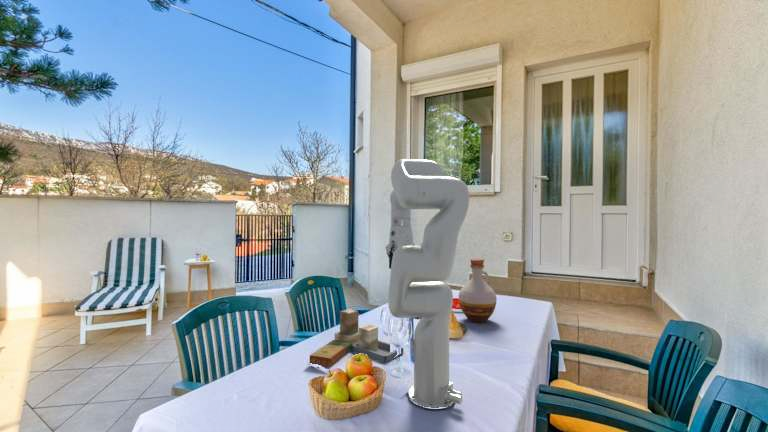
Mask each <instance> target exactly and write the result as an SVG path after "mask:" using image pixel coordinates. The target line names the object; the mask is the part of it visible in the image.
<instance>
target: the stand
mask: <svg viewBox="0 0 768 432" xmlns="http://www.w3.org/2000/svg"><path fill="white" fill-rule="evenodd" d="M334 340H339V341H347V342H352V345H353V344H355V343H358V342H359V329H358V332H356V333H354V334H351V335H347V334H344V333H341V332H340V330H339V331H336V332H334Z"/></svg>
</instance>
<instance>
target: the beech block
mask: <svg viewBox="0 0 768 432" xmlns="http://www.w3.org/2000/svg"><path fill="white" fill-rule="evenodd" d="M358 330H359V347H362V348H365V349H368V350H371V351H374V350H377V349H378V340H379V327H378V326H376V325H372V324H365V325H361V326H358Z"/></svg>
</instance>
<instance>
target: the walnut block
mask: <svg viewBox="0 0 768 432" xmlns="http://www.w3.org/2000/svg"><path fill="white" fill-rule="evenodd" d="M358 330H359V311H358V310H356V309H352V308H347V309H344V310H340V311H339V331H340V332H341V333H344V334H347V335H351V334H354V333H356V332H358Z"/></svg>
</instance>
